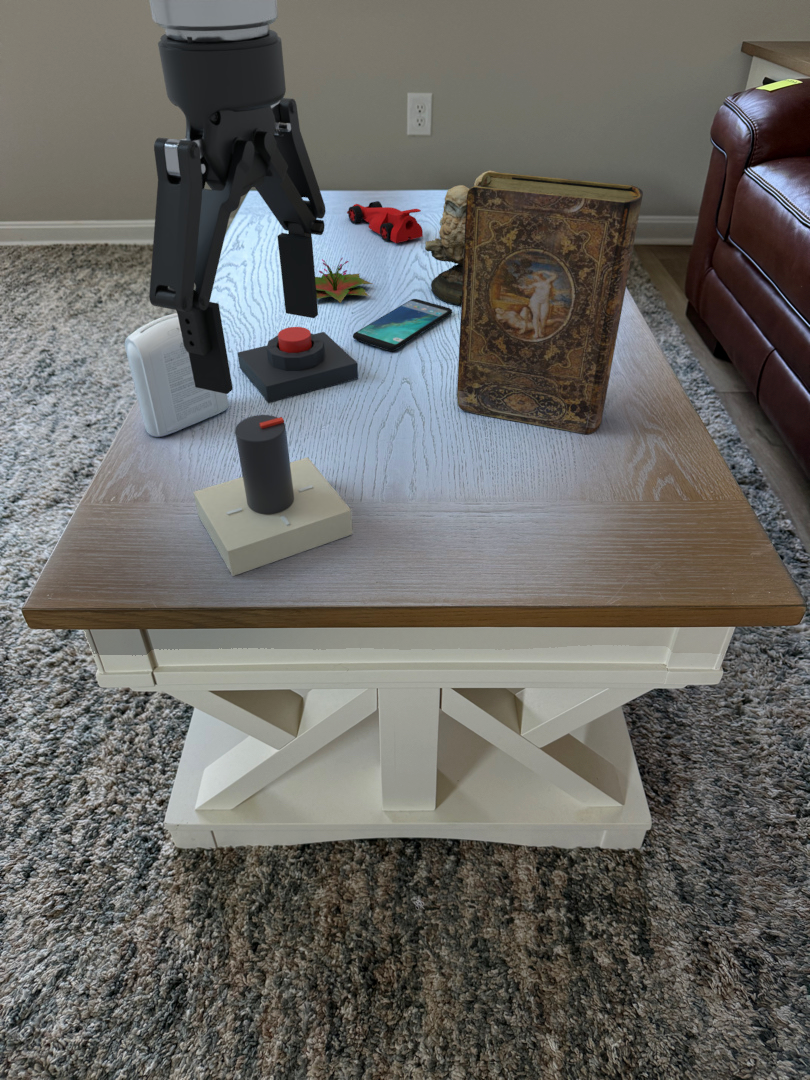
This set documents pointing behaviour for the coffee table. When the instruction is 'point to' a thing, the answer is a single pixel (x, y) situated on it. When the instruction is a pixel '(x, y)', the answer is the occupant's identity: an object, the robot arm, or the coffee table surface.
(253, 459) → the dial
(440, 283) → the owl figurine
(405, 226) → the toy car
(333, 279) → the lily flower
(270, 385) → the power box
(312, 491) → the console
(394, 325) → the smartphone
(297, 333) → the power button
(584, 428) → the book
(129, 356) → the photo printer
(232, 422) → the coffee table surface
